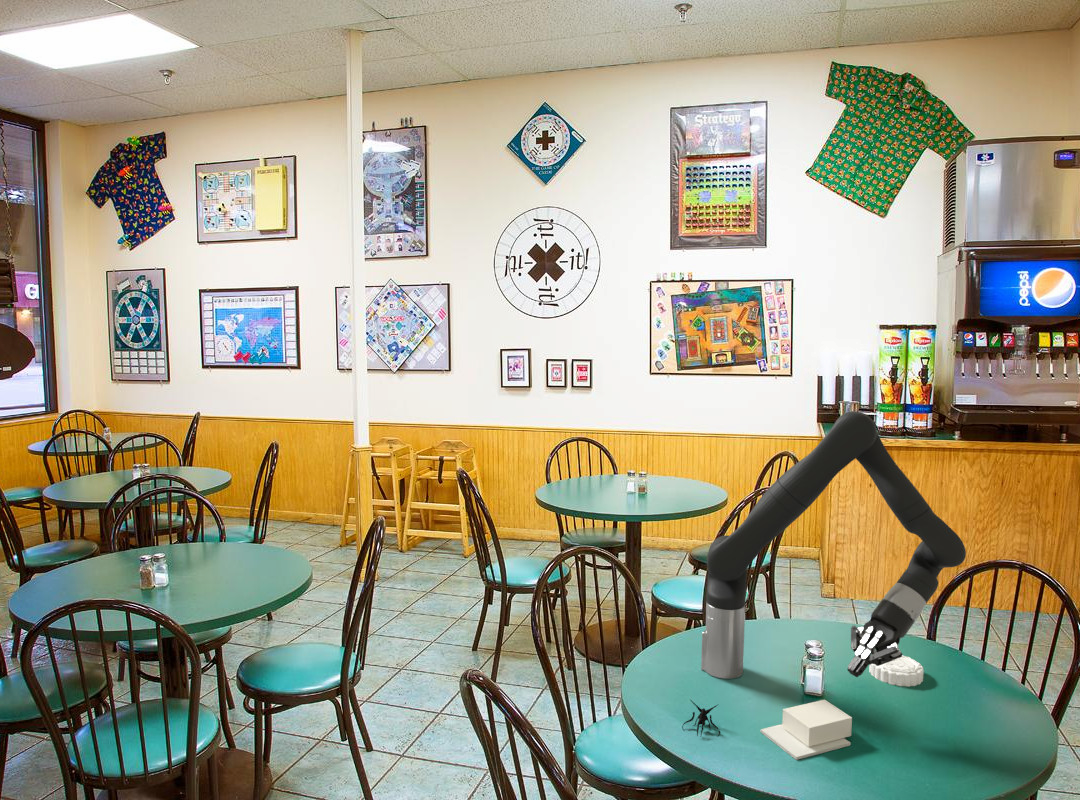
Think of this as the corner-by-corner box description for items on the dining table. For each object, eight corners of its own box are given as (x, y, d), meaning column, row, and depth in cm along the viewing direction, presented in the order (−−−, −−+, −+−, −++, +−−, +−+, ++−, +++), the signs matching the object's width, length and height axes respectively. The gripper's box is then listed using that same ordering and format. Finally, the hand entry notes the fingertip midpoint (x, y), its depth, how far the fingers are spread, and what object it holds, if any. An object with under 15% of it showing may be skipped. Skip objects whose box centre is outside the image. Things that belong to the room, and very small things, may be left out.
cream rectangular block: (823, 718, 167) (782, 728, 163) (824, 699, 167) (782, 709, 163) (851, 736, 160) (808, 747, 156) (852, 717, 159) (809, 728, 155)
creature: (718, 747, 159) (723, 720, 166) (718, 725, 158) (723, 699, 165) (680, 739, 162) (686, 713, 169) (679, 718, 160) (686, 693, 167)
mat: (760, 732, 163) (760, 729, 163) (812, 719, 168) (812, 716, 168) (796, 759, 153) (796, 757, 153) (850, 745, 158) (850, 742, 158)
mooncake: (860, 664, 195) (861, 651, 194) (907, 664, 195) (907, 650, 195) (883, 688, 183) (884, 673, 182) (933, 687, 183) (934, 672, 183)
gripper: (866, 589, 171) (820, 651, 168) (915, 610, 159) (866, 677, 156) (883, 609, 174) (838, 670, 171) (933, 631, 162) (885, 697, 159)
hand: (852, 673), depth 163 cm, fingers closed
